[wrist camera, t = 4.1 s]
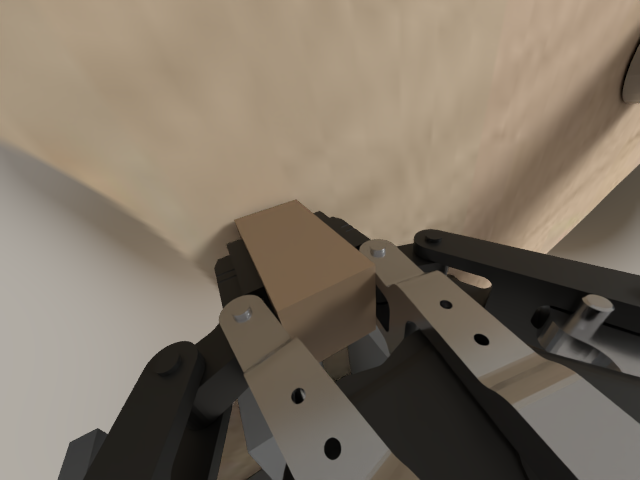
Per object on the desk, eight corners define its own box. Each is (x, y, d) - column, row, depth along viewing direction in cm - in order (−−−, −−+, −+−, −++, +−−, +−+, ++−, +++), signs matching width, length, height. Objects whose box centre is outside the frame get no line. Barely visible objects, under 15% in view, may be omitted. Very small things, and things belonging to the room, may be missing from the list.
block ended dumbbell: (314, 193, 12) (402, 251, 7) (348, 408, 25) (386, 477, 21) (211, 227, 10) (237, 331, 6) (306, 437, 24) (336, 519, 19)
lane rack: (356, 295, 18) (406, 349, 14) (364, 404, 27) (394, 453, 24) (70, 442, 12) (17, 603, 8) (208, 512, 22) (215, 599, 18)
